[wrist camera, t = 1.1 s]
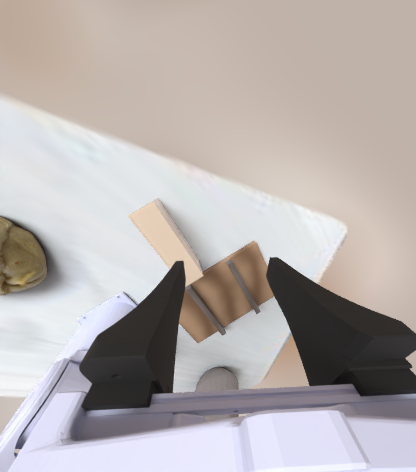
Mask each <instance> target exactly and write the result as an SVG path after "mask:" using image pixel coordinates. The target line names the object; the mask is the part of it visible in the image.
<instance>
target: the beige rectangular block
mask: <svg viewBox="0 0 416 472" xmlns="http://www.w3.org/2000/svg"><path fill="white" fill-rule="evenodd" d="M128 217H129V218H130V219H131V221H132V222H133V223H134V224H135V226H136V227H137V228H138V229H139V231H140V232H141V233H142V235H143V236H144V237H145V238H146V240H147V241H148V242H149V243H150V245H151V246H152V247H153V249H154V250H155V251H156V252H157V254H158V255H159V256H160V257H161V259H162V260H163V261H164V263H165V264H166V265H167V266H168V268H169V269H171V267H172V266H173V264H174V263H175V262H176V261H184V268H185V276H186V284H185V287H186V286H188V285H190V284H191V283H193V282H194V281H196V280H198V279H199V278H201V277H203V276H204V275H203V272H202V269H201V266H200V263H199V260H198V258H197V256H196V255H195V253H194V252H193V250H192V249H191V247H190V246H189V244H188V243H187V241H186V240H185V238H184V237H183V235H182V234H181V232H180V231H179V229H178V228H177V226H176V225H175V223H174V221H173V220H172V218H171V217H170V215H169V214H168V212H167V211H166V209H165V208H164V206H163V205H162V203H161V202H160V200H159V199H156V200H154V201H152V202H151V203H149V204H147V205H146V206H144V207H142V208H140V209H139V210H137V211H135V212H134V213H132V214H130V215H128Z"/></svg>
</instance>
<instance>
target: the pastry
mask: <svg viewBox="0 0 416 472" xmlns="http://www.w3.org/2000/svg"><path fill="white" fill-rule="evenodd" d="M46 276H47V265H46V257H45V253H44V250H43V248H42V247H41V246H40V244H39V243H38V241H37V239H36V238H35V237H34V235H33V234H32V233H30V232H29V231H28V230H24V229H22V228H21V226H16V225H15V224H14V223H13V222H11V221H9V220H7V219H5V218H2V217H0V295H6V294H8V293H13V292H20V291H24V290H28V289H30V288H32V287H34V286H36V285H38V284H39V283H41V282H42V281H43V280H44V279H45V278H46Z"/></svg>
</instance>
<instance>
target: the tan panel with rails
mask: <svg viewBox="0 0 416 472" xmlns="http://www.w3.org/2000/svg"><path fill="white" fill-rule="evenodd" d="M267 269H268V267H267V265H266V263H265V261H264V258H263V256H262V254H261V252H260V250H259V247H258V245H257V243H256V242H255V241H253V242H251V243H250V244H248V245H246V246H245V247H243V248H241V249H240V250H238V251H236V252H235V253H233V254H231V255H230V256H228V257H227V258H225V259H223V260H222V261H220V262H218V263H217V264H215V265H213V266H212V267H210V268H208V269H207V270H205V271H204V272H203V275H204V276H203V277H201V278H199V279H198V280H196V281H194V282H193V283H191V284H190V285H188V286H186V287H185V293H184V298H183V303H182V308H181V313H180V318H179V324H180V325H181V326H182V327H183V328H184V329H185V330H186V331H187V332H188V333H189V334H190V335H191V336H192V337H193V339H194V340H195V341H196V342H197V343H199V342H201V341H202V340H204V339H206V338H207V337H209V336H211V335H212V334H214V333H215V332H217V331H219V332H220V333H221V335H224V334H226V331H225V329H224V327H225V326H227V325H228V324H230V323H232V322H233V321H235V320H236V319H238V318H240V317H241V316H243V315H244V314H246V313H248V312H249V311H251V310H252V309H254V310H255V312H256V314H258V313H259V312H261V311H260V310H259V308H258V306H259V305H261V304H262V303H264V302H265V301H267V300H269V299H270V298H272V297H273V296H274V294H273V292H272V290H271V288H270V286H269V284H268V281H267V278H266V273H267Z"/></svg>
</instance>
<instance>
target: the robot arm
mask: <svg viewBox="0 0 416 472" xmlns="http://www.w3.org/2000/svg"><path fill="white" fill-rule="evenodd" d="M266 278H267V281H268V284H269V286H270V288H271V290H272V292H273V294H274V296H275V298H276V300H277V302H278V304H279V306H280V308H281V310H282V312H283V314H284V316H285V318H286V320H287V323H288V325H289V328H290V330H291V333H292V335H293V338H294V340H295V343H296V346H297V349H298V352H299V354H300V357H301V360H302V363H303V366H304V369H305V373H306V376H307V379H308V382H309V385H310V386H304V387H285V388H264V389H244V390H224V391H204V392H184V393H173V379H174V366H175V355H176V344H177V334H178V325H179V318H180V313H181V308H182V303H183V298H184V293H185V284H186V276H185V268H184V261H176V262H175V263H174V264H173V266H172V267H171V269H170V270H169V272H168V273H167V274H166V276H165V277H164V278H163V280H162V281H161V282H160V283H159V284H158V285H157V287H156V288H155V289H154V290H153V291H152V292H151V293H150V294H149V295H148V296H147V297H146V298H145V299H144V300H143V301H142V302H141V303H140V304H139V305H138V306H137V305H136V304H135V303H134V302H133V301H132V300H131V299H130V298H129V297H128V296H127V295H126V294H125V293H123V292H121V293H119V294H117V295H116V296H114V297H112V298H111V299H109V300H107V301H106V302H104V303H102V304H101V305H99V306H97V307H96V308H94V309H92V310H91V311H89V312H88V313H86V314H84V315H83V316H81V317H79V318H78V319H77V321H78V322H79V323H80V326H79V327H78V328H77V330H76V331H75V333H74V334H73V336H72V337H71V338H70V340H69V341H68V343H67V344H66V346H65V347H64V348H63V350H62V351H61V353H60V354H59V356H58V357H57V359H56V362H55V363H54V364H53V365H52V366H51V367H50V368H49V369H48V370H47V371H46V373H45V374H44V375H43V376H42V378H41V379H40V380H39V382H38V383H37V384H36V385H35V387H34V388H33V389H32V391H31V392H30V393H29V395H28V396H27V397H26V399H25V400H24V401H23V403H22V404H21V406H20V407H19V408H18V410H17V411H16V413H15V414H14V415H13V417H12V418H11V420H10V421H9V423H8V424H7V426H6V427H5V429H4V430H3V432H2V433H1V436H0V472H416V375H415V374H414V373H413V372H412V371H411V370H410V369H409V368H412V365H411V364H410V363H409V362H408V361H407V360H406V359H405V358H406V357H407V356H409V355H410V354H411V353H412V352H414V351H415V350H416V333H414V332H413V331H412V330H411V329H410V328H409V327H407V326H406V325H405V324H404V323H403V322H401V321H399V320H396V319H393V318H390V317H388V316H385V315H383V314H380V313H377V312H375V311H372V310H370V309H367V308H365V307H363V306H360V305H358V304H356V303H353V302H351V301H349V300H347V299H345V298H342V297H341V296H338V295H336V294H334V293H332V292H330V291H329V290H327V289H325V288H323V287H321V286H320V285H318V284H316V283H315V282H313V281H311V280H310V279H308V278H307V277H305V276H304V275H302V274H301V273H299V272H298V271H296V270H295V269H293V268H292V267H291V266H289V265H288V264H286V263H285V262H284V261H282V260H281V259H279V258H278V257H273V258H270V260H269V264H268V269H267V273H266ZM118 296H120V297H118ZM244 413H251V414H248V415H246V416H242V417H234V418H228V419H221V420H214V421H208V422H205V418H204V417H203V416H207V415H226V414H244ZM15 449H21V451H20V452H19V454H17V453H15V452H14V451H15Z"/></svg>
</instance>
